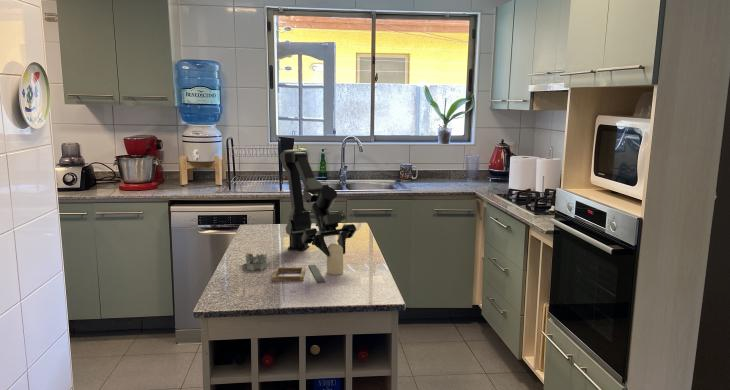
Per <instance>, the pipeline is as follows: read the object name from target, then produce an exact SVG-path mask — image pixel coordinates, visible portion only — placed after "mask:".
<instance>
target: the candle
mask: <svg viewBox="0 0 730 390" xmlns="http://www.w3.org/2000/svg"><path fill="white" fill-rule="evenodd" d="M327 248H328V251H329V254H330V256H329V257H328V256H327V255H326V273H327V274H328V275H332V276H337V275H341V274H343V273H344V254H343V247H342V246H340V245H339V244H338V243H337V244H336V243H330V244H329V245H328V246H327Z"/></svg>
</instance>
